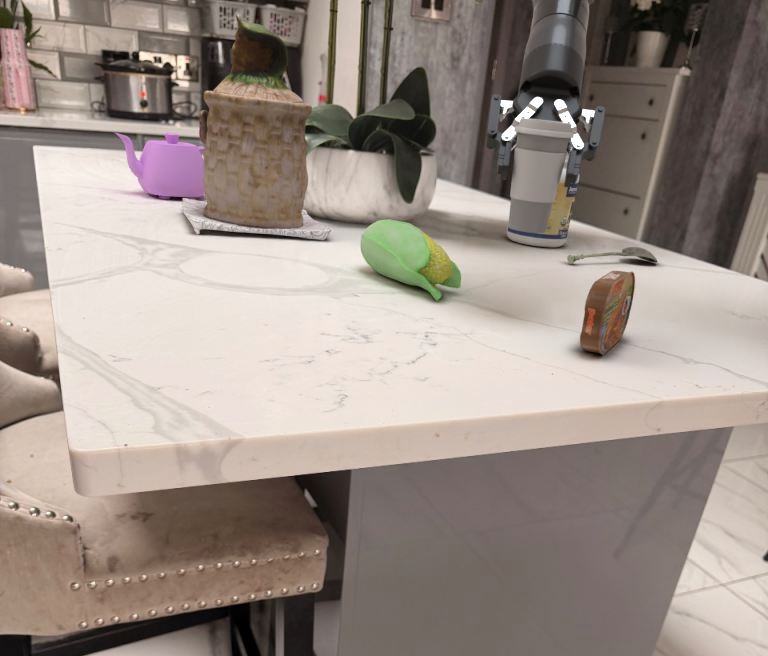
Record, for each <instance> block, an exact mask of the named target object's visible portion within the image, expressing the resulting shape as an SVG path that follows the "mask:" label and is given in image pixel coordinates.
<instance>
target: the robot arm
mask: <svg viewBox="0 0 768 656" xmlns="http://www.w3.org/2000/svg"><path fill="white" fill-rule="evenodd" d="M595 1H596V0H531V2H532V10H533V14H532V19H531V24H530V31H529V36H528V40H527V43H526V45H525V49H524V55H523V60H522V64H521V74H520V79H519V85H518V91H517V95H516V97H515V98H514V99H513V100H504V99H502V96H501V94H499V93H494V94H493V95H491V98H490V99H491V100H490V105H489V106H490V107H489V115H488V123H487V129H486V137H485V138H486V140H485V147H486V149H488V150H493V149H496V150H497V151H498V155H497V156H498V157H497V162H496V170H495V171H496V173H497V175H500V180H507V178H508V174H509V173H508V172H509V167H510V160H511V154H512V151H513V150H515V147H516V144H517V134H516V132H515V131H514V129H515V127H516V126H519V122H520V119H521V118H530V119H540V120H549V121H557V122H565V123H571V124H572V126H571V132H573V133H574V138H571V140H569V142H568V146H567V150H566V153H567V156H568V162H567V169H566V176H565V183H564V187H568V188H570V186H571V183H576V181H577V179H578V175H579V176H580V172H581V171H580V170H581V163H582V161H584V160H586V161H588V162H593V161H594V160H595V159H596V156H597V152H598V148H599V146H600V144H601V139H602V138H601V137H602V133H603V127H604V121H605V115H606V108H605V107H604V106H603V105H597V106H596V107H595V109H594V110H593V109H585V108H583V106H582V104H581V94H582V88H583V87H582V86H583V80H584V72H585V65H586V56H587V36H588V35H587V34H588V28H589V20H590V5H591V4H593V3H595ZM509 114H511V116H512V117H513V121H512V123H511V125H510V126H509V127H508V128H507V129H506V130H505V131H504V132H501V131H499V122H500V123H501V122H503V120H504V119H506V117H507V115H509ZM580 122H582V123H583V124H584V128H585V130H586V133H589V134H588V139H587V142H586V141H585V142H584V141H583V140H582V138H581V136H580V134H579V132H578V127H577V125H578V124H579V123H580Z"/></svg>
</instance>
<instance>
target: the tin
mask: <svg viewBox="0 0 768 656" xmlns="http://www.w3.org/2000/svg"><path fill="white" fill-rule="evenodd" d="M635 288H636V275H635V272H634V271H623V270H610V271H609V272H608V273H606V274H605V275H603V276H602V277H600V278H599V279H596V280H595V281H594V282H593V284H592V285H591V287H590V289H589V291H588V294H587V297H586V300H585V305H584V315H583V320H582V326H581V328H582V329H581V332H580V335H579V345H580V348H581V350H583V351H586V352H590V353H596V354H600V355H601V356H604V355H606V353H607V352H609V350H611V349H612V348H613V347H614V346H615V345H616V344H617V343H618V342H619V341H620V340H621V339H622V337H623V335H624V333H625V330H626V328H627V325H628V321H629V319H630V314H631V310H632V305H633V300H634V294H635Z"/></svg>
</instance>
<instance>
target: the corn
mask: <svg viewBox="0 0 768 656" xmlns="http://www.w3.org/2000/svg"><path fill="white" fill-rule="evenodd" d="M360 252H361V255H362V257H363V259H364V261H365V262H366V263H367V265H368V266H369V267H370V268H371V269H373V270H374V271H375V272H377V274H379V275H382V276H384V277H386V278H389V279H392V280H394V281H397V282H401V283H403V284H406V285H408V286H414V287H420V288H422V289H424V290H425V291H427V292H428V293H429V294H430V295H431V296H432V297H433V299H434V300H435V301H436V302H437V301H440V299H441V298H442V294H443V293H442V291H441V290H440V288H439V287H437V285H440V286H444V287H447V288H452V289H459V288H461V283H462V273H461V270H460V269H459V267H458V266H457V264H456V262H454V261H452V260H451V258H450V256H449V255H448V253H447V251H446V250H445V249H444V248H443V247H442V246H441V245H440V244H438V242H436V241H434V239H432V237H431V236H429V235H428V234H426V233H425V232H423V230H421V228H419V227H417V226H415V225H413V224H412V223H410V222H405V221H400V220H395V219H389V218H388V219H387V218H386V219H379V220H377V221H374V222H373V223H371V224H369V226H368V227H366V229H365V230H364V231H363V233H361V235H360Z"/></svg>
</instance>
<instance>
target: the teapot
mask: <svg viewBox="0 0 768 656" xmlns="http://www.w3.org/2000/svg"><path fill="white" fill-rule="evenodd" d="M114 134H115V135H117V136H118V137H119V138H120V139H121V141H122V142H123V145H124V148H125V153H126V154H125V155H126V160H127V165H128V168H129V170H130V172H131V173H132V174H133V175H134V177H136V178H137V181H138V183H139V185H140V187H141V189H142V190H143V191H144V192H146V193H147V194H150V195H154V196H158V199H162V200H171V197H175V198H176V197H178V198H187V199H193V200H197V198H198V197H199V198H201V197H204V196H206V195H205V193H204V189H203V165H204V159H203V155H202V153H201V152H204V147H205V146H202V145H199V146H197V145H196V144H194V143H190V142H183V141H179V139H180V134H178V133H174V132H165V133H164V138H165V140H157V139H154V140H153V139H150V140H149V139H148V140H147V141H146V142H145V144H144V147H143V149H142V151H141V154H140V157H139V159H138V158H137V156H136V152H135V148H134V144H133V141H132V139H131V138H130V137H129V136H127V135H125V134H121V133H118V132H114Z"/></svg>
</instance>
